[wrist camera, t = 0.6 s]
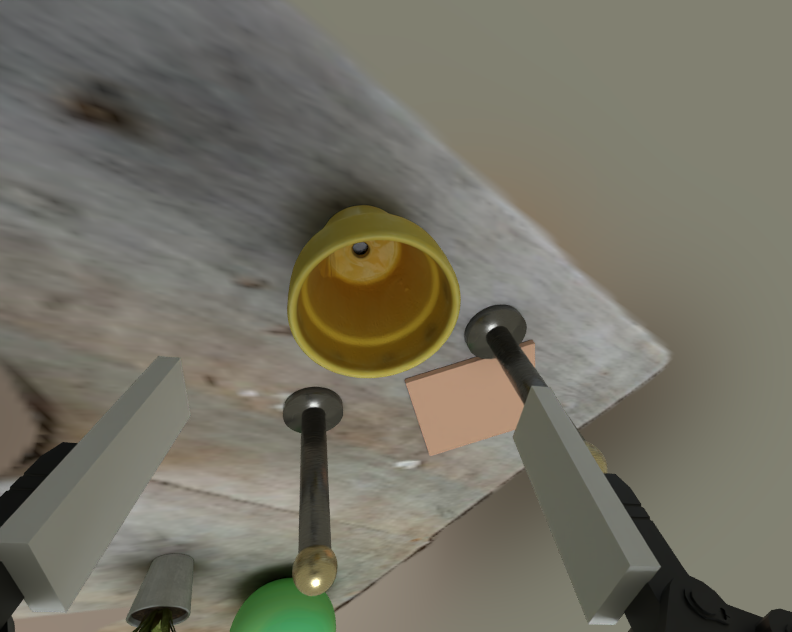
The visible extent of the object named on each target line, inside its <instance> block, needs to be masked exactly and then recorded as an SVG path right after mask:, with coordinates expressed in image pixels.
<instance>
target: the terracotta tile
mask: <svg viewBox="0 0 792 632" xmlns="http://www.w3.org/2000/svg"><path fill="white" fill-rule="evenodd" d="M519 346H520V347H521V349H522V350H523V352H524V353H525V354H526V356H527V357H528V359H529V360H530V362H531V363H532V364H533V366H534V367H535V343H534V342H533V340H529V341H526V342H523V343H520V344H519ZM405 382H406V385H407V388H408V391H409V394H410V397H411V400H412V403H413V406H414V409H415V412H416V415H417V418H418V421H419V424H420V427H421V430H422V433H423V436H424V440H425V443H426V446H427V449H428V452H429V455H430V456H432V455H435V454H438V453H442V452H445V451H448V450H451V449H455V448H458V447H461V446H464V445H467V444H471V443H474V442H477V441H480V440H483V439H487V438H490V437H493V436H496V435H499V434H503V433H506V432H509V431H512V430H515V429H516V427H517V424H518V421H519V418H520V416H521V413H522V410H523V408H524V404H523V403H522V401H521V399H520V397H519V396H518V394H517V392H516V391H515V389H514V387H513V386H512V384H511V382H510V381H509V379H508V377H507V376H506V374H505V372H504V371H503V369H502V367H501V365H500V364H499V362H498V360H497V359H496V358H494V359H483V358H479V357H475V358H472V359H468V360H465V361H462V362H459V363H455V364H452V365H449V366H446V367H443V368H439V369H436V370H433V371H430V372H427V373H423V374H420V375H417V376H414V377H410V378H407V379H405Z"/></svg>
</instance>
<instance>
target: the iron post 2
mask: <svg viewBox="0 0 792 632" xmlns="http://www.w3.org/2000/svg"><path fill="white" fill-rule="evenodd" d="M526 328H527V326H526V322H525V320H524V318H523V317H522V316H521V314H520V313H519V312H518V311H517V310H516V309H515V308H513V307H511V306H508V305H495V306H491V307H488V308H486V309H484V310H482V311H481V312H479V313H478V314H476V315H475V316H474V317H473V318H472V319H471V321H470V322H469V323H468V325H467V327H466V330H465V341H466V343H467V345H468V347H469V349H470V351H471V352H472V353H473V354H474V355H475V356H477V357H479V358H483V359H494V358H496V359H497V360H498V362H499V364H500V365H501V367H502V369H503V371H504V372H505V374H506V376H507V377H508V379H509V381H510V382H511V384H512V386H513V387H514V389H515V391H516V392H517V394H518V396H519V397H520V399H521V401H522V403H523V404H524V405H525V402H526V399H527V397H528V394H529V391H530V388H531V386H541V387H548V386H547V385H546V383H545V382H544V380H543V379H542V377H541V376H540V375H539V373H538V372H537V370H536V369H535V367H534V366H533V364H532V363H531V362H530V360H529V359H528V357H527V356H526V354H525V353H524V352H523V350H522V349H521V347H520V346H519V344H520V343H521V342H522V340H523V338H524V336H525V334H526ZM566 414H567V413H566ZM568 417H569V416H568ZM570 420H571V419H570ZM571 422H572V421H571ZM572 423H573V422H572ZM573 425H574V423H573ZM574 427H575V428H576V426H575V425H574ZM576 430H577V431H578V429H577V428H576ZM578 433H579V435H580V436H581V438H582V440H583V441H584V443H585V444H586V446H587V448H588V449H589V451H590V453H591V454H592V456H593V457H594V459H595V461H596V462H597V464H598V466H599V467H600V469H601V470H602V472H603V473H607V464H606V460H605V458H604V456H603V455H602V453H601V452H600V451H599V450H598V449H597V448H596V447H595V446H594V445H592V444H590V443H588V442H586V441H585V439H584V438H583V436H582V435H581V434H580V432H579V431H578Z"/></svg>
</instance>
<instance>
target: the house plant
mask: <svg viewBox="0 0 792 632" xmlns="http://www.w3.org/2000/svg"><path fill="white" fill-rule="evenodd" d="M193 565H194V560H193V559H192V558H191V557H190V556H187V555H183V554H167V555H163V556H160V557H158V558H156V559H154V560H153V562H152V564H151V566H150V568H149V570H148V572H147V574H146V576H145V579H144V581H143V583H142V585H141V587H140V589H139V591H138V594H137V596H136V598H135V600H134V602H133V604H132V606H131V609H130V611H129V613H128V615H127V618H126V621H127V623H128V624H130V625H131V626H134V627H137V628H136V629H135V630H134V631H133V632H137V631H138V630H139V629H140V628H141V629H140V630H139V632H170V629H171V631H172V632H176V631H175V628H174V626H173V625H176V624H179V623H181V622H183V621H185V620H186V619H187V618H188V617H189V616H190V610H191V595H192V580H193ZM172 626H173V629H174V631H173V629H172Z"/></svg>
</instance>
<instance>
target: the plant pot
mask: <svg viewBox="0 0 792 632" xmlns="http://www.w3.org/2000/svg"><path fill="white" fill-rule="evenodd" d="M359 242H365V243H366V244H367V245H368V250H367V252H366V253H365V254H363V255H357V254H356V253H354V251H353V245H354V244H355V243H359ZM460 301H461V299H460V289H459V284H458V280H457V277H456V275H455V272H454V270H453V268H452V266H451V264H450V263H449V261H448V259H447V257H446V256H445V254H444V253H443V251H442V250H441V248H440V247H439V246H438V244H437V243H436V242H435V240H434V239H433V238H432V237H431V236H430V235H429V234H428V233H427V232H426V231H425V230H423V229H422V228H421V227H419V226H418V225H416V224H415V223H413V222H411V221H409V220H407V219H405V218H402V217H400V216H396V215H392V214H389V213H387V212H385V211H384V210H382V209H380V208H377V207H373V206H369V205H358V206H352V207H348V208H346V209H343V210H341V211H340V212H338V213H336V214H335V215H334V216H333V217H332V218H331V219H330V220H329V221H328V222H327V224H326V225H325V227H324V228H323V229H322V230H320V231H319V232H318V233H317V234H315V235H314V236H313V237H312V238H311V239H310V240H309V241H308V243H307V244H306V245H305V246H304V248H303V249H302V251H301V253H300V254H299V256H298V258H297V260H296V263H295V265H294V268H293V272H292V276H291V281H290V286H289V293H288V305H287V314H288V322H289V325H290V329H291V332H292V334H293V336H294V339H295V340H296V342H297V344H298V345H299V347H300V348H301V349H302V350H303V352H304V353H305V354H306V355H307V356H308V357H309V358H311V359H312V360H313V361H314V362H316V363H317V364H319V365H320V366H322V367H324V368H326V369H328V370H330V371H332V372H335V373H338V374H341V375H345V376H350V377H357V378H378V377H386V376H391V375H394V374H398V373H401V372H404V371H407V370H409V369H411V368H413V367H415V366H417V365H419V364H421V363H422V362H424V361H425V360H427V359H428V358H429V357H430V356H432V355H433V354H434V353H435V352H436V351H438V350H439V349H440V347H441V346H442V345H443V344H444V343H445V342H446V340H447V339H448V337H449V336H450V334H451V333H452V331H453V329H454V327H455V324H456V322H457V319H458V315H459V311H460Z"/></svg>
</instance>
